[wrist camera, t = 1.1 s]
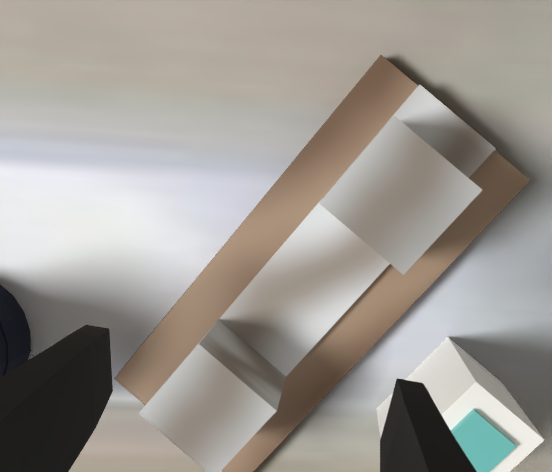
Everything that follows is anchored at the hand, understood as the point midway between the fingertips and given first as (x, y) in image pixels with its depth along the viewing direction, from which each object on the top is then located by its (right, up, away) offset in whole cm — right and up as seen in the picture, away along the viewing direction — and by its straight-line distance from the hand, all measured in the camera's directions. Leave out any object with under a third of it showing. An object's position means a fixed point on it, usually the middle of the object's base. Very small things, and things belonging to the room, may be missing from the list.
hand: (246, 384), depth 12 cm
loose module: (+10, -6, +16) cm, 20 cm away
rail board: (+2, +1, +16) cm, 16 cm away
